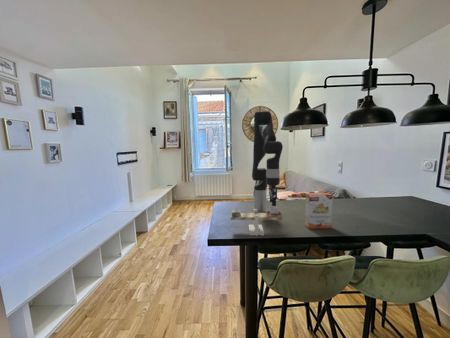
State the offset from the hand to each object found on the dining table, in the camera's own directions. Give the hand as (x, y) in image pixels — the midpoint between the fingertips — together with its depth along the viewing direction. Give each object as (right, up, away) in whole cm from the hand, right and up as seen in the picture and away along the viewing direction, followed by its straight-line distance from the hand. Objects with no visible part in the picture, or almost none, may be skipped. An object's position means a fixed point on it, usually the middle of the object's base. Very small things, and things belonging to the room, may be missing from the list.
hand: (272, 203), depth 125 cm
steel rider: (+1, -7, +1) cm, 7 cm away
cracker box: (+29, -15, +6) cm, 33 cm away
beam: (-10, -8, +1) cm, 12 cm away
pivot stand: (-10, -16, +2) cm, 19 cm away
